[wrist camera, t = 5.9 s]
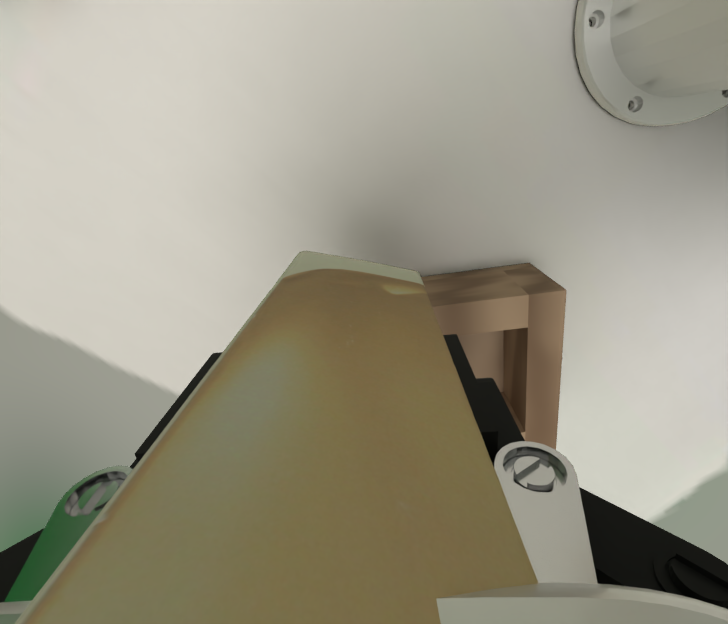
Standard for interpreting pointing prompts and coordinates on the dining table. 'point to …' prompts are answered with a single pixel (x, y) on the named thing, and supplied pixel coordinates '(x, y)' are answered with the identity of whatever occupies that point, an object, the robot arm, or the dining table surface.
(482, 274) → the socket block
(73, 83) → the dining table surface
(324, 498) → the skincare box
